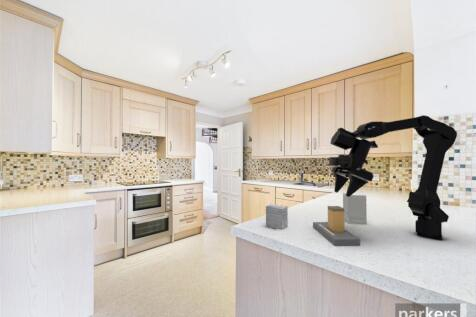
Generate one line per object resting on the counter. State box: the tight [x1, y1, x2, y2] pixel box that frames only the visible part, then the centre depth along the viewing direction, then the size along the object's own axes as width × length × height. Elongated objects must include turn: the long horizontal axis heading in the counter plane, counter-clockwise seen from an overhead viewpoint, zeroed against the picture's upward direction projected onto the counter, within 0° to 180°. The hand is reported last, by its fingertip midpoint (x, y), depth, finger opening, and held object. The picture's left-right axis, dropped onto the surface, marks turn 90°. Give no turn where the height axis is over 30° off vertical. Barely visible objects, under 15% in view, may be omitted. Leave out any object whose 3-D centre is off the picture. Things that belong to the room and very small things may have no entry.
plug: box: [327, 205, 345, 232], centre depth 73 cm, size 4×4×10 cm
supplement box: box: [342, 192, 368, 225], centre depth 89 cm, size 7×7×13 cm
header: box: [312, 221, 361, 247], centre depth 73 cm, size 8×18×3 cm, turn 1°
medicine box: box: [265, 204, 289, 231], centre depth 83 cm, size 8×4×9 cm, turn 47°
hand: (341, 194), depth 75 cm, fingers open, 9 cm apart
